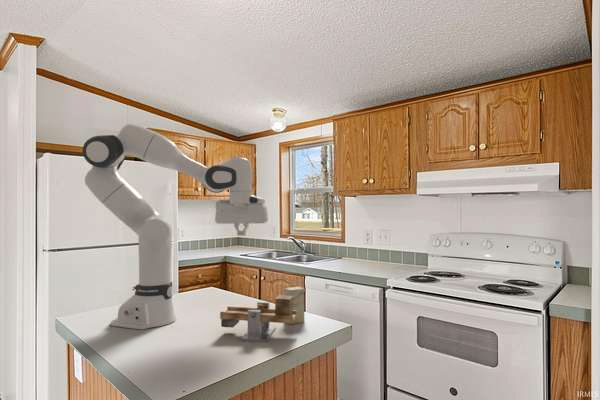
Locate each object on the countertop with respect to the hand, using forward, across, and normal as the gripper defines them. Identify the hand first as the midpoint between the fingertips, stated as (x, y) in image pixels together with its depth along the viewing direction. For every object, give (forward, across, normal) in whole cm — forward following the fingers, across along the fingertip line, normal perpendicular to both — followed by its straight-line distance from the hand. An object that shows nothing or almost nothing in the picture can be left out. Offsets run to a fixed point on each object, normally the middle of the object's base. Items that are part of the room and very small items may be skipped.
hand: (241, 235), depth 142 cm
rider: (+25, +20, -18) cm, 37 cm away
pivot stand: (+31, +12, -18) cm, 38 cm away
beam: (+28, +12, -18) cm, 36 cm away
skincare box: (+31, +21, -3) cm, 38 cm away
